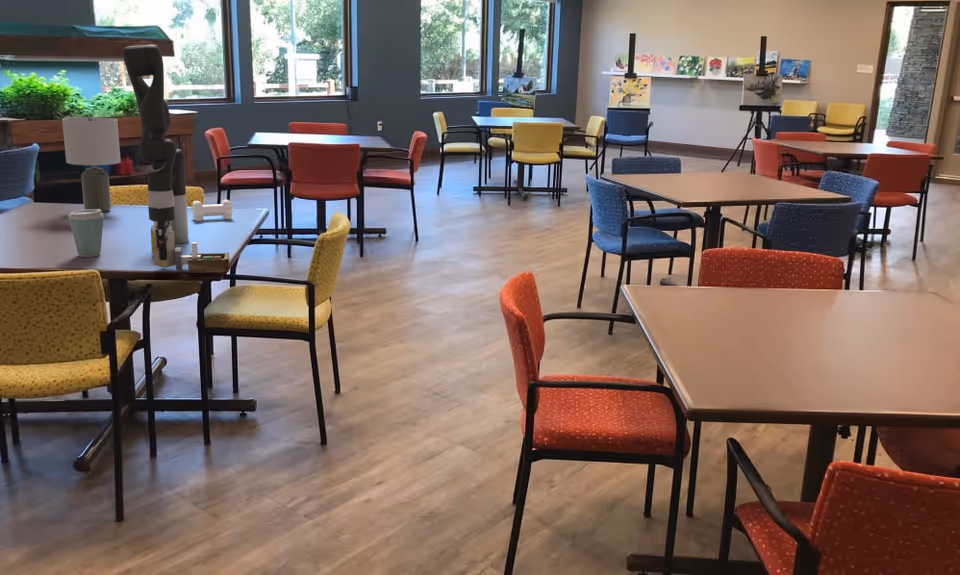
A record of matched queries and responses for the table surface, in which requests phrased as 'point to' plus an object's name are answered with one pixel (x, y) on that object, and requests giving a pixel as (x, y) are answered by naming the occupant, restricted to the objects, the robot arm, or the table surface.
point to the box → (170, 251)
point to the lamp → (92, 155)
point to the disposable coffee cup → (87, 231)
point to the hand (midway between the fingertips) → (164, 257)
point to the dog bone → (212, 210)
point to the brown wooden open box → (209, 263)
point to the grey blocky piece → (185, 256)
